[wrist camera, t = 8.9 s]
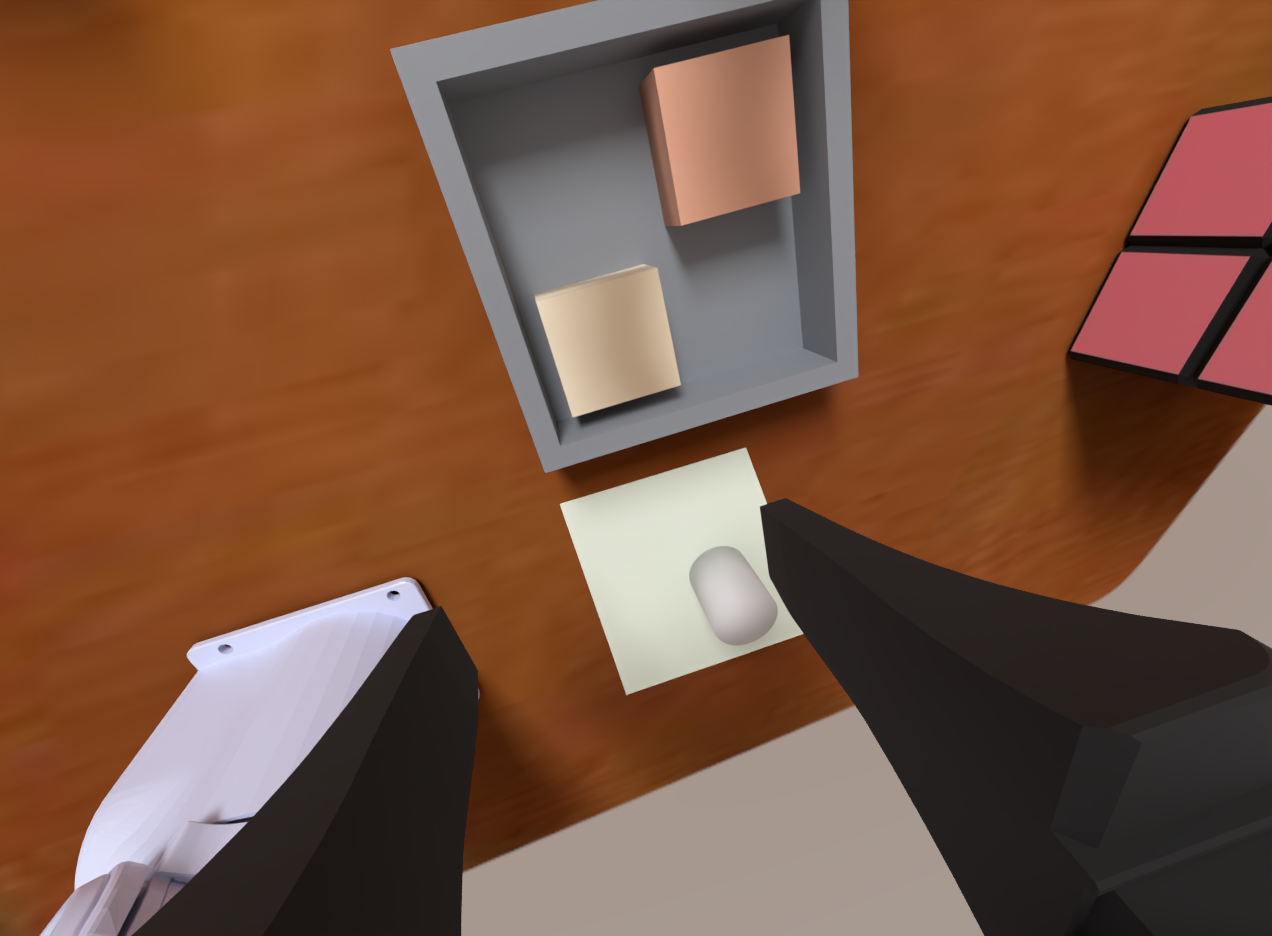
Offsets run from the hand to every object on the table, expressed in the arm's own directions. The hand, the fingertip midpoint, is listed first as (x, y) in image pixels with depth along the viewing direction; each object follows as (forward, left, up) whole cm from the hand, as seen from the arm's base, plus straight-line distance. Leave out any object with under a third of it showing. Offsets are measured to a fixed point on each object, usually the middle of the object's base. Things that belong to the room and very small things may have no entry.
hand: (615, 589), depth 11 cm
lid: (+5, -10, -11) cm, 15 cm away
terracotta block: (+7, +8, -10) cm, 15 cm away
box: (+5, +6, -10) cm, 13 cm away
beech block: (+2, +3, -10) cm, 11 cm away
